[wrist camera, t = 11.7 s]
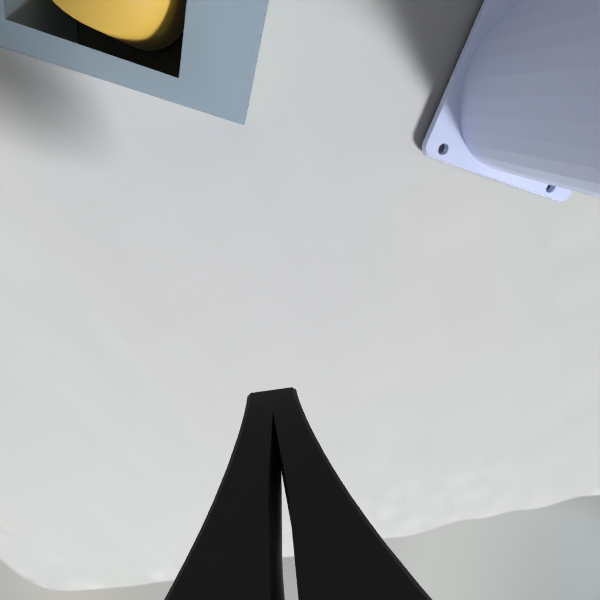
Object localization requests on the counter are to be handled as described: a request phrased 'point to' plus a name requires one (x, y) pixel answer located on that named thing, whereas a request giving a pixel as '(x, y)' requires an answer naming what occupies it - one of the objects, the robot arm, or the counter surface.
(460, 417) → the counter surface
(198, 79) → the cabinet
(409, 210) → the counter surface
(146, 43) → the button
